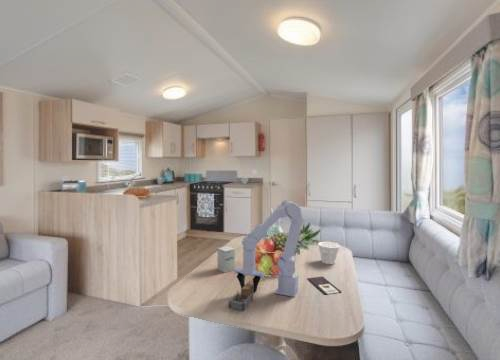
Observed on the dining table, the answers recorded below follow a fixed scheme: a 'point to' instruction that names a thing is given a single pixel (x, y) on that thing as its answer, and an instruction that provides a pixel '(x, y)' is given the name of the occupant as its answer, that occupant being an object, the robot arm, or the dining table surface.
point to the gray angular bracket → (239, 305)
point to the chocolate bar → (324, 285)
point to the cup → (328, 252)
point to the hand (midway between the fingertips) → (249, 290)
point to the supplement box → (226, 259)
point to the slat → (247, 290)
